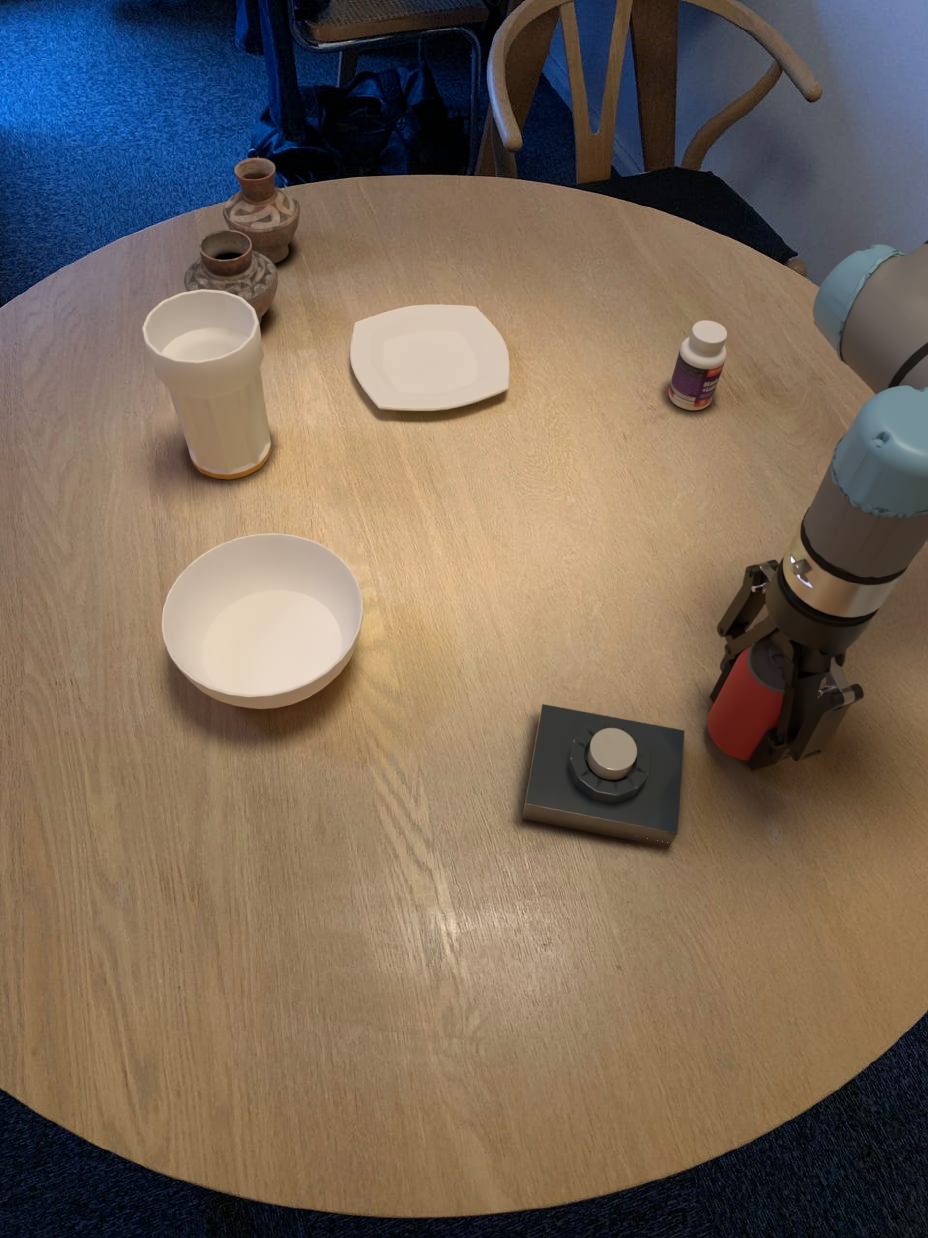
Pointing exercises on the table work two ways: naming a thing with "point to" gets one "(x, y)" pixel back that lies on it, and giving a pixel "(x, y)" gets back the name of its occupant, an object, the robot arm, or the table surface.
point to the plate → (429, 358)
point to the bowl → (263, 620)
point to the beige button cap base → (597, 804)
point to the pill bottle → (699, 366)
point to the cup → (213, 378)
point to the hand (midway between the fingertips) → (742, 729)
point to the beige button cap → (611, 754)
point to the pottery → (248, 239)
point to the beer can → (748, 701)
